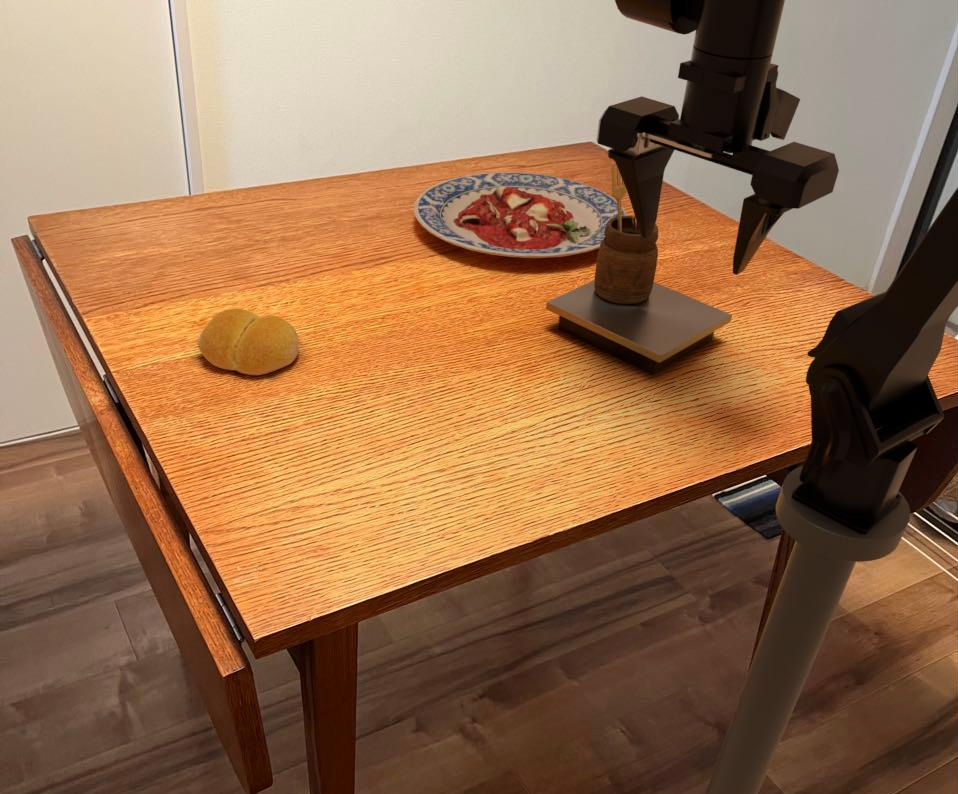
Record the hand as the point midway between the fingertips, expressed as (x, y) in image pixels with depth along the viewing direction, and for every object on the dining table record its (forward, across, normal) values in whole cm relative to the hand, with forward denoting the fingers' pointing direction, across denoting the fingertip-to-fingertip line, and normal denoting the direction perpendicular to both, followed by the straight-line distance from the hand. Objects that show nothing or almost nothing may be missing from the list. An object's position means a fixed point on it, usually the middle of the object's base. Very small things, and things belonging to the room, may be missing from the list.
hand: (690, 254), depth 77 cm
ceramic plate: (+13, +34, -17) cm, 40 cm away
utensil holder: (+10, +11, -7) cm, 17 cm away
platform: (+13, +8, -6) cm, 16 cm away
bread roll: (+13, +30, +25) cm, 41 cm away
